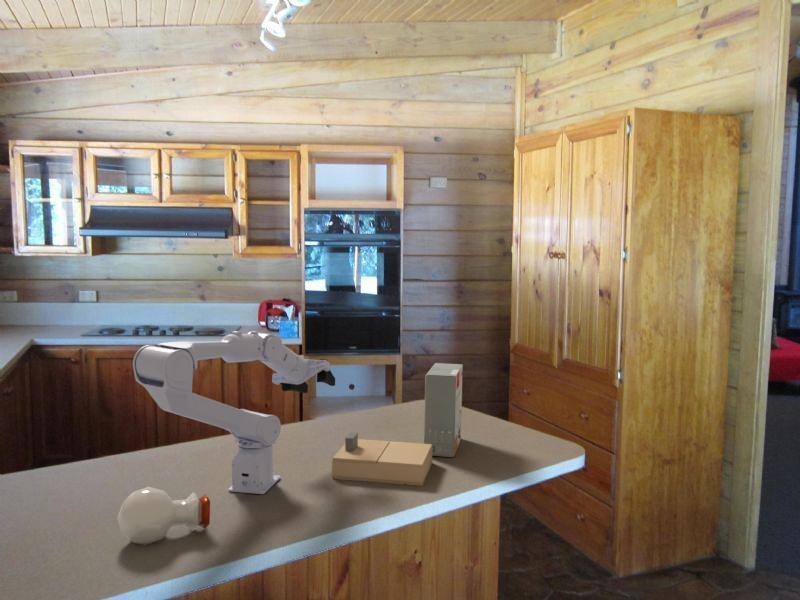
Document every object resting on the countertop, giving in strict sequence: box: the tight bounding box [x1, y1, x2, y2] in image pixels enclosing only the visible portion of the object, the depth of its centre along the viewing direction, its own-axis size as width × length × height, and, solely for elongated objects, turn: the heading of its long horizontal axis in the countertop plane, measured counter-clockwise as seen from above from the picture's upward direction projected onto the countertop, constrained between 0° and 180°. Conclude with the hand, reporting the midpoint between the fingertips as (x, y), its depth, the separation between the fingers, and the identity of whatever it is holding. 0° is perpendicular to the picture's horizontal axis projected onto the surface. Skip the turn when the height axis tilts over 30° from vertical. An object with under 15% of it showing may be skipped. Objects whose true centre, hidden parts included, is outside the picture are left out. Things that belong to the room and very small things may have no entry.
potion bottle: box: [116, 486, 211, 546], centre depth 116 cm, size 9×10×15 cm
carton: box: [331, 440, 433, 487], centre depth 149 cm, size 14×20×5 cm
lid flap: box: [332, 432, 391, 464], centre depth 149 cm, size 14×10×4 cm
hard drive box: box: [423, 362, 464, 458], centre depth 164 cm, size 16×8×20 cm, turn 168°
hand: (320, 385), depth 157 cm, fingers open, 7 cm apart
